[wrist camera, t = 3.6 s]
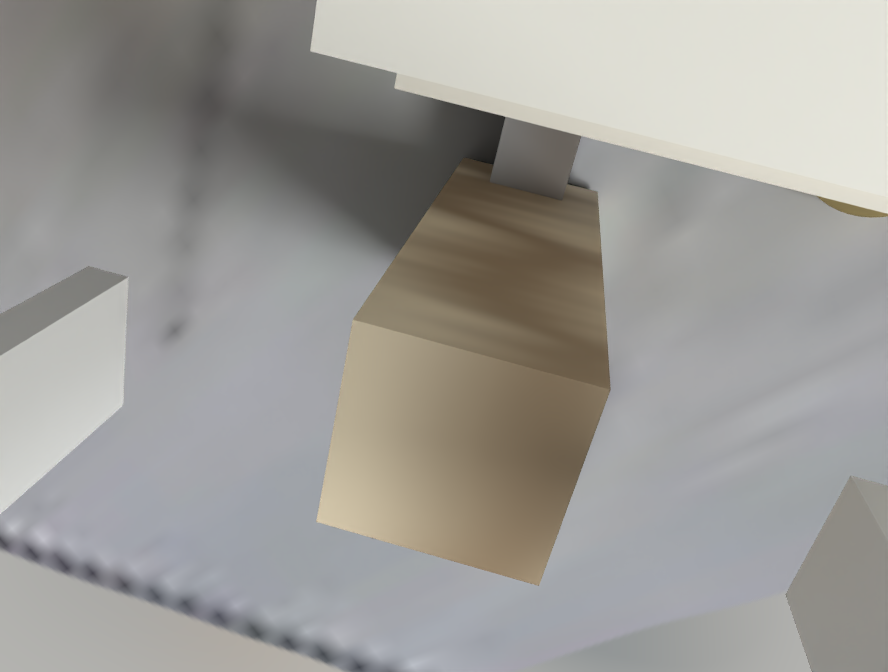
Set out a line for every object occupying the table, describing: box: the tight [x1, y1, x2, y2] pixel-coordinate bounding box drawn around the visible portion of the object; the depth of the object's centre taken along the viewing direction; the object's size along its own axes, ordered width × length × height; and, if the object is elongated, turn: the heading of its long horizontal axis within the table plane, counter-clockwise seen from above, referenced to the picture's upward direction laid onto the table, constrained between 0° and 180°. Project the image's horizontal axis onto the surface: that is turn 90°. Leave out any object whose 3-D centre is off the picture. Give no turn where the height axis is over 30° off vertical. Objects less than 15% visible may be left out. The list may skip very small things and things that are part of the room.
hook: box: [316, 117, 610, 586], centre depth 16 cm, size 17×12×12 cm
